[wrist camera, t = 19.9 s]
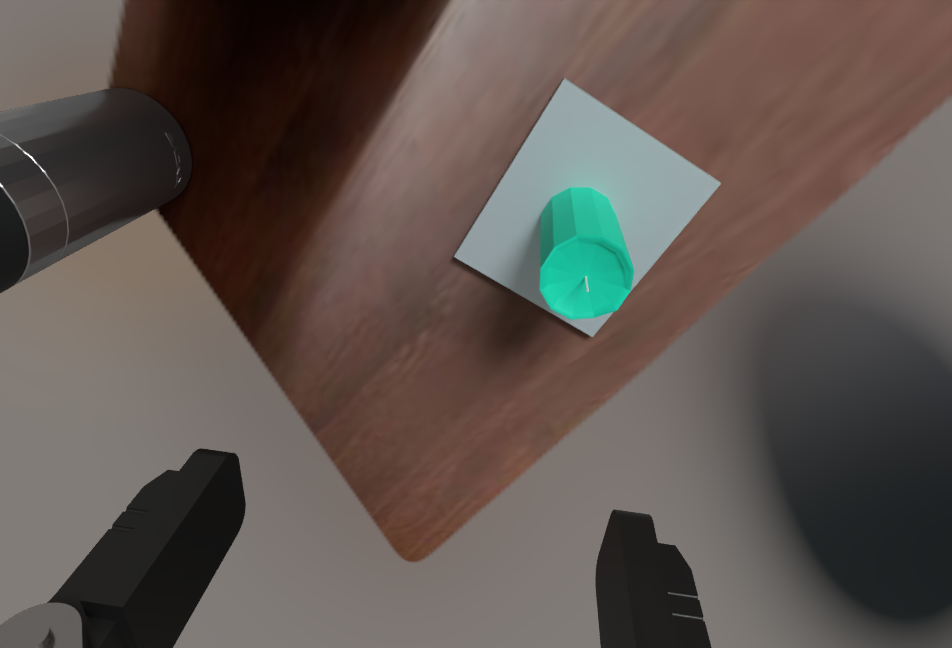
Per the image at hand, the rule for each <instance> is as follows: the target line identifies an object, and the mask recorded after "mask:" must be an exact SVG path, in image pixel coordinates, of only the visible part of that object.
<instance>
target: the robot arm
mask: <svg viewBox="0 0 952 648" xmlns="http://www.w3.org/2000/svg"><path fill="white" fill-rule="evenodd" d="M191 170H192V159H191V152H190V148H189V144H188V141H187V139H186V137H185V135H184V133H183V130H182V129H181V127H180V126H179V124H178V123H177V121H176V120H175V118H174V117H173V116H172V115H171V114H170V113H169V112H168V111H167V110H166V109H165V108H164V107H163V106H162V105H160V104H159V103H158V102H156V101H155V100H154V99H152V98H150V97H148V96H147V95H145V94H143V93H141V92H137V91H134V90H131V89H125V88H112V89H105V90H101V91H96V92H91V93H86V94H82V95H76V96H71V97H66V98H62V99H57V100H52V101H47V102H43V103H38V104H33V105H29V106H24V107H19V108H14V109H10V110H5V111H0V293H1V292H3V291H5V290H7V289H9V288H10V287H12V286H14V285H16V284H17V283H19V282H21V281H23V280H25V279H27V278H29V277H30V276H32V275H34V274H36V273H38V272H40V271H41V270H43V269H45V268H47V267H49V266H51V265H52V264H54V263H56V262H57V261H59V260H61V259H63V258H65V257H67V256H69V255H70V254H72V253H74V252H76V251H78V250H80V249H82V248H83V247H85V246H87V245H89V244H90V243H93V242H94V241H96V240H98V239H100V238H102V237H104V236H106V235H107V234H109V233H111V232H113V231H115V230H117V229H118V228H120V227H122V226H124V225H126V224H128V223H130V222H131V221H133V220H135V219H137V218H139V217H141V216H142V215H145V214H146V213H148V212H150V211H152V210H154V209H156V208H157V207H159V206H161V205H163V204H165V203H167V202H168V201H170V200H172V199H174V198H175V197H177V196H178V195H179V194H181V192H182V191H183V190H184V189H185V187H186V186H187V184H188V181H189V179H190V176H191ZM245 506H246V505H245V496H244V490H243V483H242V477H241V471H240V464H239V459H238V456H237V455H236V454H235V453H228V452H222V451H215V450H208V449H198V450H196V451H195V452H194V453H193V454H192V455H191V456H190V458H189V459H188V460H187V462H186V463H185V464H184V466H183V467H182V468H181V469H180V471H174V470H167V471H166V472H164V473H163V474H161V475H160V476H158V477H157V478H155V479H154V480H152V481H151V482H150V483H148V484H147V485H145V486H144V487H143V488H142V489H141V490H140V492H139V493H138V494H137V495H136V497H135V498H134V499H133V500H132V501H131V503H130V504H129V505H128V506H127V509H126V511H125V512H122V514H121V515H120V516H119V517H118V519H117V520H116V521H115V522H114V523H113V526H112V529H109V530H108V531H107V532H106V533H105V535H104V536H103V537H102V538H101V539H100V541H99V542H98V543H97V544H96V545H95V547H94V548H93V549H92V550H91V552H90V553H89V554H88V555H87V556H86V558H85V559H84V560H83V561H82V563H81V564H80V565H79V566H78V567H77V569H76V570H75V571H74V572H73V574H72V575H71V576H70V577H69V579H68V580H67V581H66V582H65V583H64V585H63V586H62V587H61V588H60V589H59V591H58V592H57V593H56V594H55V595H54V597H52V599H51V600H50V601H49V602H47V603H46V604H41V605H37V606H34V607H31V608H28V609H26V610H24V611H22V612H20V613H18V614H16V615H14V616H13V617H12V618H10V619H8V620H7V621H5V622H4V623H3V624H2V625H0V648H173V646H174V645H175V643H176V641H177V639H178V637H179V636H180V634H181V632H182V631H183V629H184V627H185V625H186V623H187V622H188V620H189V618H190V616H191V615H192V613H193V611H194V610H195V608H196V606H197V604H198V602H199V601H200V599H201V597H202V596H203V594H204V592H205V590H206V589H207V587H208V585H209V583H210V582H211V580H212V578H213V576H214V574H215V573H216V570H217V569H218V568H219V566H220V564H221V562H222V561H223V559H224V557H225V555H226V553H227V552H228V550H229V548H230V547H231V545H232V543H233V541H234V540H235V538H236V536H237V534H238V532H239V530H240V528H241V525H242V523H243V519H244V515H245ZM596 597H597V607H598V620H599V631H600V643H601V648H711V644H710V640H709V637H708V633H707V629H706V625H705V622H704V621H703V613H702V609H701V606H700V601H699V600H698V598H697V597H698V594H697V590H696V586H695V582H694V578H693V574H692V571H691V568H690V567H689V565H688V564H687V562H686V561H685V559H684V558H683V556H682V555H681V553H680V552H679V551H678V549H677V547H676V546H675V545H668V544H661V543H658V542H657V538H656V533H655V528H654V523H653V520H652V517H651V516H650V515H647V514H641V513H634V512H628V511H621V510H613V511H612V513H611V516H610V519H609V522H608V525H607V529H606V532H605V536H604V539H603V542H602V545H601V549H600V552H599V556H598V560H597V566H596Z"/></svg>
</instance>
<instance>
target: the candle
mask: <svg viewBox="0 0 952 648" xmlns="http://www.w3.org/2000/svg"><path fill="white" fill-rule="evenodd" d="M634 271H635V270H634V267H633V264H632V261H631V258H630V255H629V252H628V249H627V246H626V243H625V240H624V237H623V234H622V231H621V228H620V225H619V222H618V218H617V215H616V213H615V211H614V209H613V207H612V205H611V203H610V201H609V199H608V197H606V196H604V195H603V194H601V193H599V192H598V191H596V190H594V189H593V188H591V187H570V188H568V189H566V190H564V191H562V192H560V193H558V194H556V195H555V196H553V197H552V198H551V199H550V201H549V202H548V204H547V205H546V207H545V208H544V210H543V212H542V213H541V233H540V289H539V290H540V292H541V293H542V295H543V297H544V299H545V300H546V302H547V304H548V305H549V307H550V309H551V310H553V311H555V312H557V313H559V314H561V315H563V316H565V317H567V318H568V319H570V320H573V319H587V318H596V317H599V316H602V315H605V314H608V313H611V312H614V311H617V310H618V308H619V307H620V305H621V304H622V303H623V301H624V300H625V298H626V297H627V295H628V294H629V293H630V291H631V287H632V282H633V276H634Z"/></svg>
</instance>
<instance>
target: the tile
mask: <svg viewBox="0 0 952 648" xmlns="http://www.w3.org/2000/svg"><path fill="white" fill-rule="evenodd" d="M720 184H721V183H720V182H719V181H718V180H717V179H715V178H714V177H712V176H711V175H709V174H708V173H706V172H705V171H703V170H702V169H700V168H699V167H697V166H696V165H694V164H693V163H691V162H690V161H688V160H687V159H685V158H684V157H682V156H681V155H679V154H678V153H676V152H675V151H673V150H672V149H670V148H669V147H667V146H666V145H664V144H663V143H661V142H660V141H658V140H657V139H655V138H654V137H652V136H651V135H649V134H648V133H646V132H645V131H643V130H642V129H640V128H639V127H637V126H636V125H634V124H633V123H631V122H630V121H628V120H627V119H625V118H624V117H622V116H621V115H619V114H618V113H616V112H615V111H613V110H612V109H610V108H609V107H608V106H606V105H605V104H603V103H602V102H600V101H599V100H597V99H596V98H594V97H593V96H591V95H590V94H588V93H587V92H585V91H584V90H582V89H581V88H579V87H578V86H576V85H575V84H573V83H572V82H570V81H569V80H567V79H566V78H563V80H562V81H561V83H560V84H559V86H558V88H557V89H556V91H555V92H554V94H553V96H552V97H551V99H550V101H549V102H548V104H547V105H546V107H545V109H544V110H543V112H542V114H541V115H540V117H539V118H538V120H537V122H536V123H535V125H534V126H533V128H532V130H531V131H530V133H529V135H528V136H527V138H526V139H525V141H524V143H523V144H522V146H521V147H520V149H519V151H518V152H517V154H516V156H515V157H514V159H513V160H512V162H511V164H510V165H509V167H508V168H507V170H506V172H505V173H504V175H503V177H502V178H501V180H500V181H499V183H498V185H497V186H496V188H495V190H494V191H493V193H492V194H491V196H490V198H489V199H488V201H487V202H486V204H485V206H484V207H483V209H482V211H481V212H480V214H479V215H478V217H477V219H476V220H475V222H474V223H473V225H472V227H471V228H470V230H469V232H468V233H467V235H466V236H465V238H464V240H463V241H462V243H461V244H460V246H459V248H458V249H457V251H456V253H455V255H454V257H455V258H457V259H459V260H460V261H462V262H464V263H465V264H467V265H469V266H471V267H472V268H474V269H476V270H478V271H479V272H481V273H483V274H484V275H486V276H488V277H490V278H491V279H493V280H495V281H496V282H498V283H500V284H502V285H503V286H505V287H507V288H509V289H510V290H512V291H514V292H515V293H517V294H519V295H521V296H522V297H524V298H526V299H527V300H529V301H531V302H533V303H534V304H536V305H538V306H540V307H541V308H543V309H545V310H546V311H548V312H550V313H552V314H553V315H555V316H557V317H559V318H560V319H562V320H564V321H565V322H567V323H569V324H571V325H572V326H574V327H576V328H577V329H579V330H581V331H583V332H584V333H586V334H588V335H590V336H591V337H593V336H594V335H595V333H596V332H597V331H598V330H599V329H600V328H601V326H602V325H603V324H604V323H605V322H606V320H607V319H608V318H609V317H610V316H611V314H612V313H613V312H611V313H608V314H605V315H602V316H599V317H596V318H587V319H573V320H570V319H568V318H567V317H565V316H563V315H561V314H559V313H557V312H555V311H553V310H551V309H550V307H549V305H548V304H547V302H546V300H545V299H544V297H543V295H542V293H541V292H540V290H539V289H540V233H541V213H542V212H543V210H544V208H545V207H546V205H547V204H548V202H549V201H550V199H551V198H552V197H553V196H555V195H556V194H558V193H560V192H562V191H564V190H566V189H568V188H570V187H591V188H593V189H594V190H596V191H598V192H599V193H601V194H603V195H604V196H606V197H608V199H609V201H610V203H611V205H612V207H613V209H614V211H615V213H616V215H617V218H618V222H619V225H620V228H621V231H622V234H623V237H624V240H625V243H626V246H627V249H628V252H629V255H630V258H631V261H632V264H633V267H634V270H635V271H634V276H633V282H632V287H631V290H632V289H633V288H634V287H635V286H636V285H637V283H638V282H639V281H640V280H641V279H642V277H643V276H644V275H645V274H646V273H647V271H648V270H649V269H650V268H651V267H652V265H653V264H654V263H655V262H656V261H657V259H658V258H659V257H660V256H661V255H662V253H663V252H664V251H665V250H666V249H667V248H668V246H669V245H670V244H671V243H672V242H673V240H674V239H675V238H676V237H677V236H678V234H679V233H680V232H681V231H682V230H683V228H684V227H685V226H686V225H687V224H688V222H689V221H690V220H691V219H692V218H693V216H694V215H695V214H696V213H697V212H698V210H699V209H700V208H701V207H702V206H703V205H704V203H705V202H706V201H707V200H708V199H709V197H710V196H711V195H712V194H713V193H714V191H715V190H716V189H717V188H718V187H719V185H720ZM630 292H631V291H630Z"/></svg>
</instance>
